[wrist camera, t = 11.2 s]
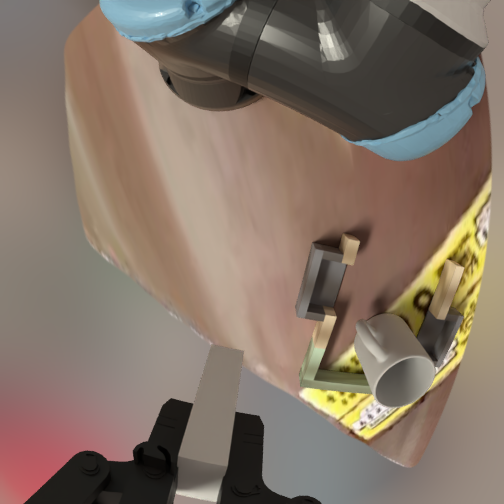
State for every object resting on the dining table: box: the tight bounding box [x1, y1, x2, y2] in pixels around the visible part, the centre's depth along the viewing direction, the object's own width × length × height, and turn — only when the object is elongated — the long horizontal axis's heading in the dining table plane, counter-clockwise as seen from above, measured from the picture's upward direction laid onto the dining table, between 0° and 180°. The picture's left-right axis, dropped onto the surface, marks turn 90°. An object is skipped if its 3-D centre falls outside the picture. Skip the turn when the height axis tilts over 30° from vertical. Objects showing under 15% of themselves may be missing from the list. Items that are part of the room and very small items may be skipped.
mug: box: [354, 313, 435, 408], centre depth 37 cm, size 12×8×11 cm
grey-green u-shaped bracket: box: [295, 233, 464, 394], centre depth 41 cm, size 22×25×3 cm
